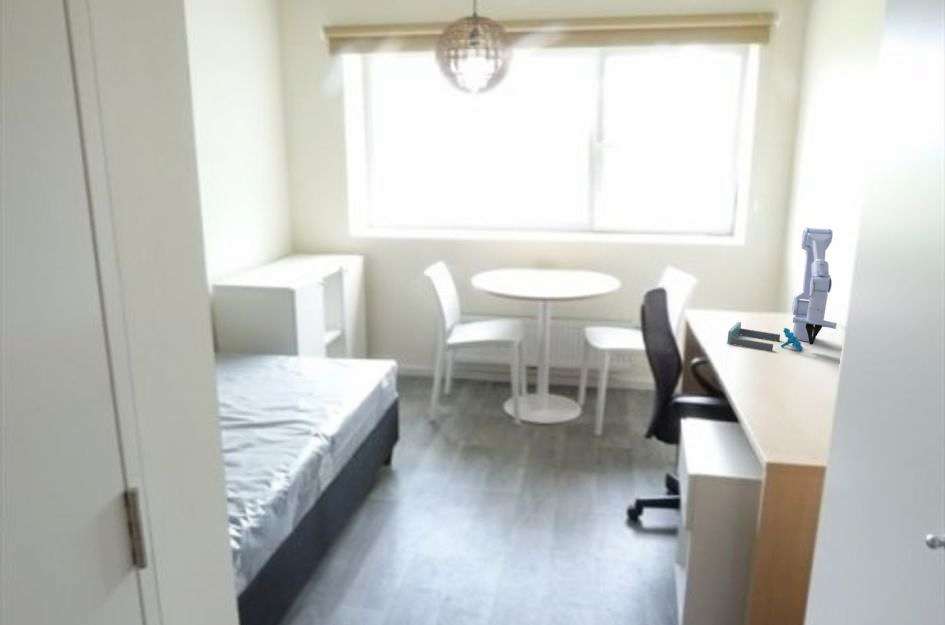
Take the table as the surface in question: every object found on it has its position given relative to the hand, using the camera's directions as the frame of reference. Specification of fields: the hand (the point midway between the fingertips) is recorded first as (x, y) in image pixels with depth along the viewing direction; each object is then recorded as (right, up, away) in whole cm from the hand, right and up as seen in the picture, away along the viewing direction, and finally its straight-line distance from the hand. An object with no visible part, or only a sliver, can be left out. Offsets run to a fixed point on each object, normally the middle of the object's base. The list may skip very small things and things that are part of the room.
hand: (811, 344), depth 259 cm
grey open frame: (-17, 0, +11) cm, 20 cm away
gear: (-5, -2, +4) cm, 7 cm away
